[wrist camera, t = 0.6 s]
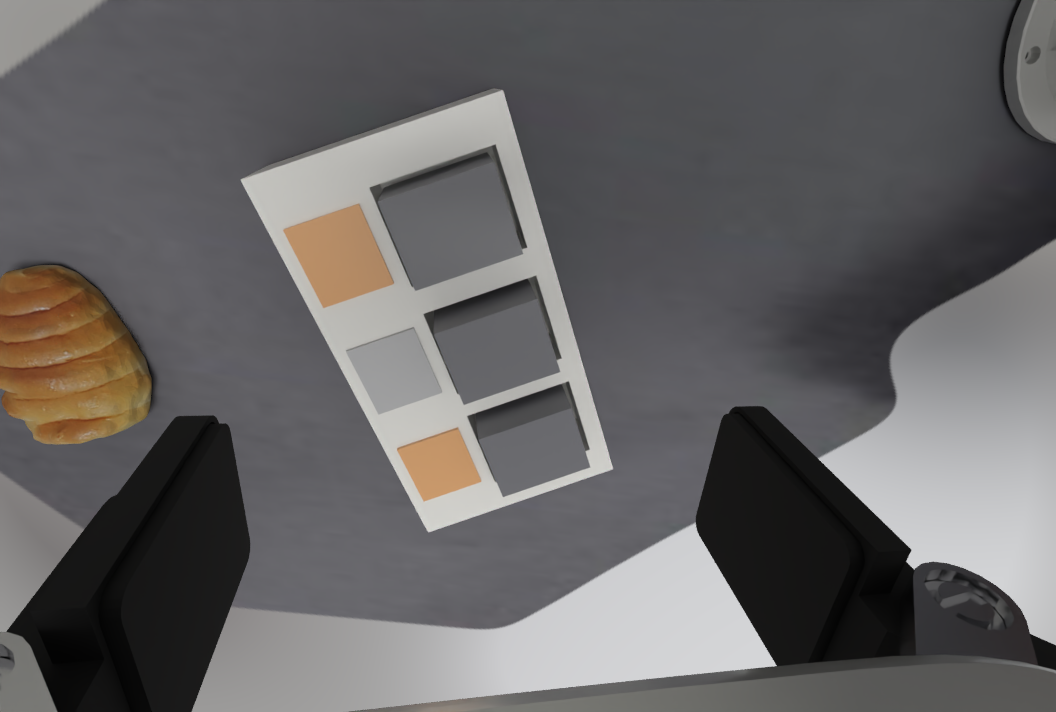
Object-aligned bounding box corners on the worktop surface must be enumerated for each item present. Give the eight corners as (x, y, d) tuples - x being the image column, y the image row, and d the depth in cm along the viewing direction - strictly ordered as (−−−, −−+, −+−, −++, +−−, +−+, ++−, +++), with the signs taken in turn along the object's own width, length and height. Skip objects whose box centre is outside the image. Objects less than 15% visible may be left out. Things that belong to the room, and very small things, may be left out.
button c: (558, 375, 33) (571, 407, 30) (575, 431, 35) (590, 467, 32) (473, 404, 33) (478, 439, 30) (496, 458, 35) (502, 497, 32)
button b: (526, 275, 30) (537, 298, 27) (547, 342, 32) (560, 371, 29) (433, 307, 30) (433, 334, 27) (460, 372, 32) (463, 405, 29)
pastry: (-27, 265, 29) (-89, 290, 25) (116, 255, 29) (75, 278, 26) (49, 421, 33) (5, 460, 29) (172, 408, 34) (144, 445, 30)
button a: (486, 152, 27) (494, 162, 24) (513, 234, 29) (523, 253, 26) (383, 187, 27) (377, 201, 24) (417, 267, 29) (415, 291, 26)
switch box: (493, 88, 28) (503, 89, 24) (594, 428, 38) (614, 471, 34) (267, 165, 28) (239, 180, 24) (428, 485, 38) (428, 534, 34)
